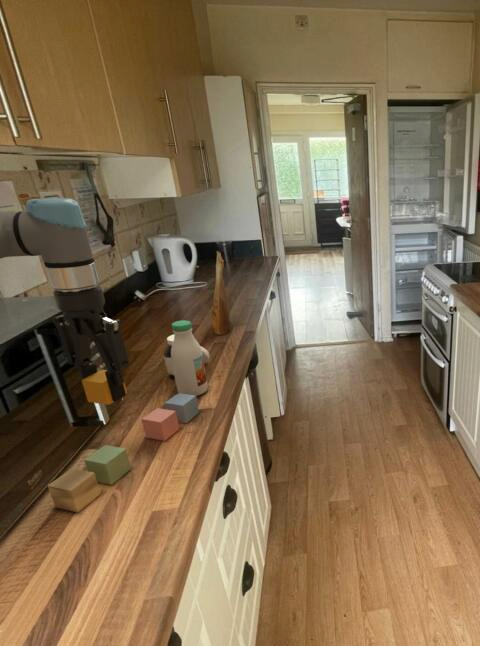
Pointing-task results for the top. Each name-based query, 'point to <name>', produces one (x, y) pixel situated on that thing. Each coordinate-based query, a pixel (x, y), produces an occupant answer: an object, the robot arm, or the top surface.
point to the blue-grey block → (183, 406)
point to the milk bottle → (187, 360)
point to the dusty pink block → (160, 424)
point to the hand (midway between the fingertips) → (107, 396)
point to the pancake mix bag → (220, 301)
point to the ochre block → (98, 388)
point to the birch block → (74, 490)
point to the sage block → (108, 464)
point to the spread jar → (168, 355)
